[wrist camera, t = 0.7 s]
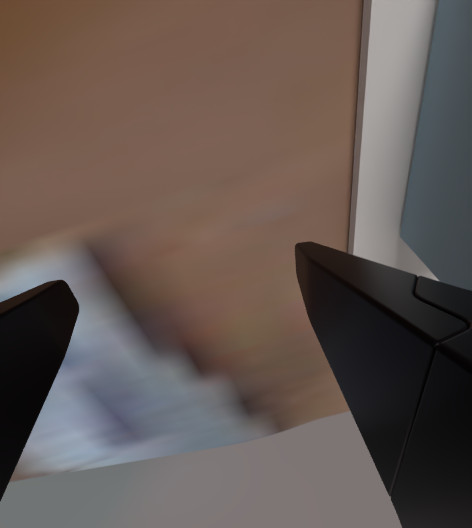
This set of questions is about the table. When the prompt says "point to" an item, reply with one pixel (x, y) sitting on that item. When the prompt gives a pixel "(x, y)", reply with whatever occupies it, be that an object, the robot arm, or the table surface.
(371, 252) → the cabinet base
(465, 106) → the door panel
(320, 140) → the table surface
